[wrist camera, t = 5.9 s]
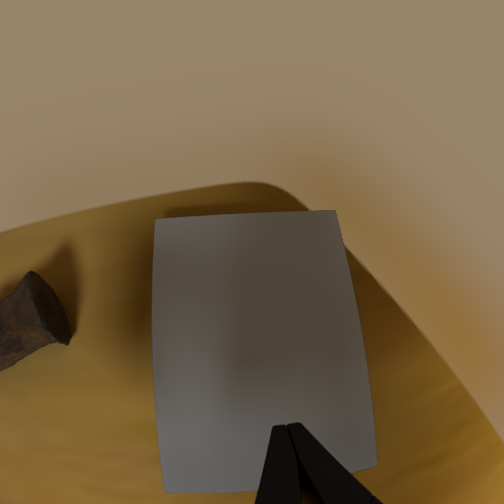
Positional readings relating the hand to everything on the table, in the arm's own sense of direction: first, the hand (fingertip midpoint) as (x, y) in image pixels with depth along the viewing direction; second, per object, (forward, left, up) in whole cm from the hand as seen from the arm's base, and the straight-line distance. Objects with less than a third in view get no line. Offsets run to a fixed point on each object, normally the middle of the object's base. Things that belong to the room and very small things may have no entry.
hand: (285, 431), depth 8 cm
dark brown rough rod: (+4, +18, -7) cm, 20 cm away
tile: (-4, +1, -6) cm, 7 cm away
